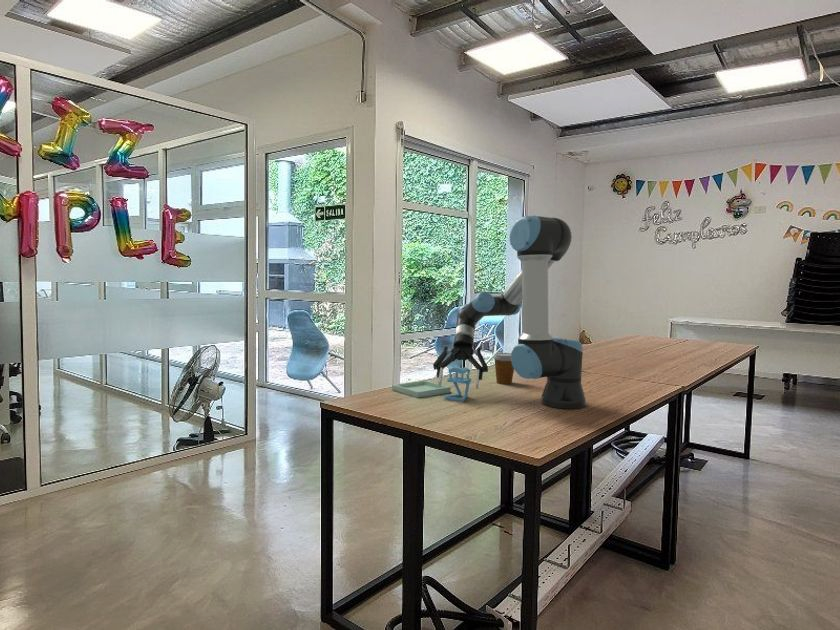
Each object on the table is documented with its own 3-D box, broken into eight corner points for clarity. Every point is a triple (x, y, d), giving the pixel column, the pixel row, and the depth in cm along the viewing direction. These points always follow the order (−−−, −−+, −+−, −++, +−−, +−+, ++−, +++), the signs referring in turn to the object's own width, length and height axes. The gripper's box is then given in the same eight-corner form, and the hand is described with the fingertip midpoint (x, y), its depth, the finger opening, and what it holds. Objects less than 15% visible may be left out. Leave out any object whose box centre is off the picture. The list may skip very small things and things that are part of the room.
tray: (424, 385, 224) (424, 380, 223) (450, 392, 211) (450, 386, 211) (391, 390, 214) (391, 384, 213) (417, 397, 201) (417, 392, 201)
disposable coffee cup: (490, 380, 236) (491, 352, 235) (512, 380, 237) (513, 352, 236) (495, 385, 226) (496, 356, 225) (518, 384, 227) (519, 356, 226)
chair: (473, 397, 203) (474, 365, 202) (463, 401, 196) (464, 368, 195) (454, 395, 207) (455, 363, 206) (444, 399, 200) (444, 366, 199)
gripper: (496, 346, 214) (493, 393, 200) (433, 343, 218) (425, 389, 205) (496, 334, 208) (492, 381, 194) (431, 331, 213) (422, 377, 199)
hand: (458, 385), depth 200 cm, fingers open, 13 cm apart
